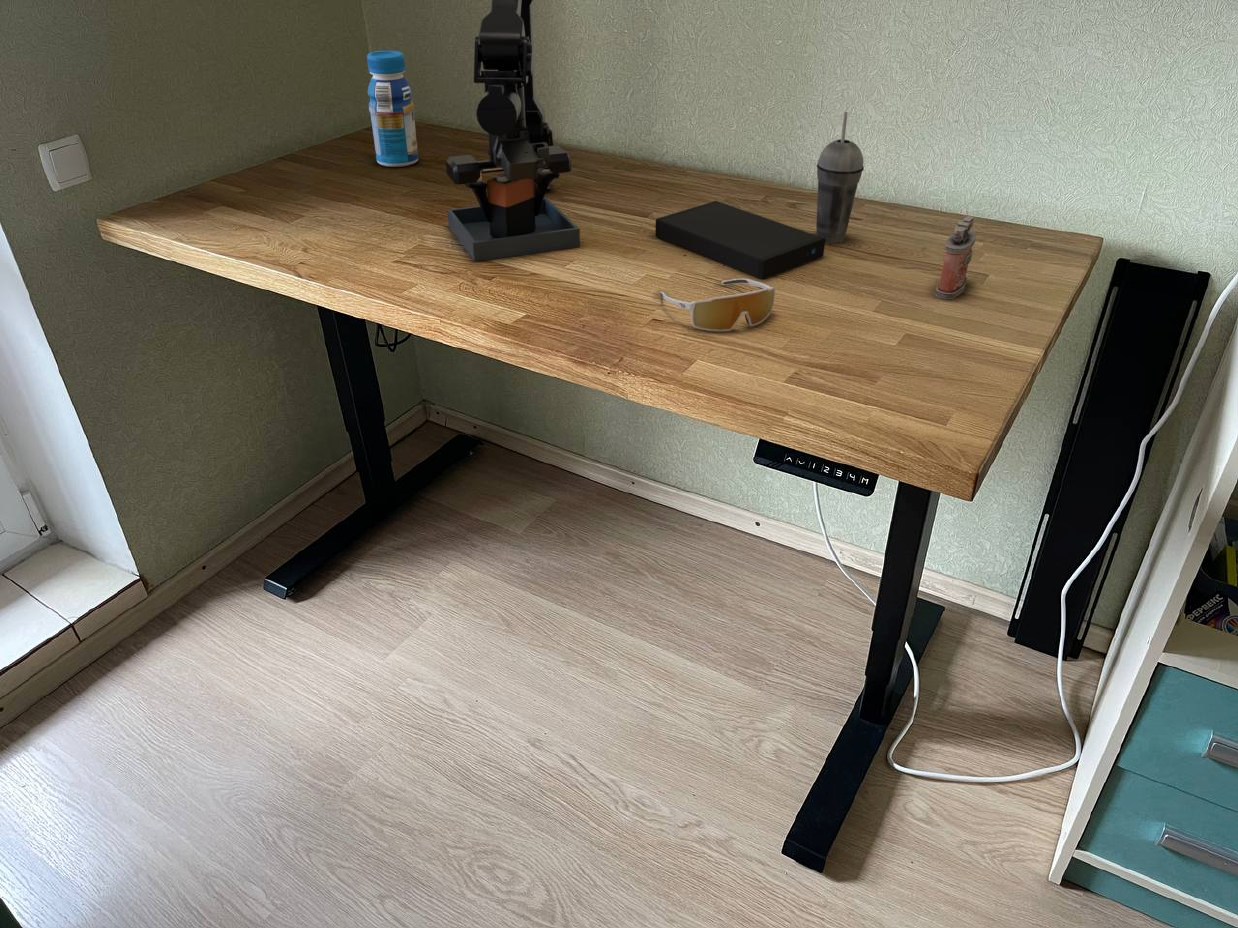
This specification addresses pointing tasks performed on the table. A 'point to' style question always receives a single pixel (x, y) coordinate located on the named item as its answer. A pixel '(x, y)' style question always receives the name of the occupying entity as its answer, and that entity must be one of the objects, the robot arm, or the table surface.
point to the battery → (511, 206)
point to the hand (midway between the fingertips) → (512, 218)
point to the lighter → (956, 260)
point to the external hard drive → (740, 239)
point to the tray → (547, 236)
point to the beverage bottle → (391, 110)
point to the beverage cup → (837, 186)
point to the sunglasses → (729, 307)
